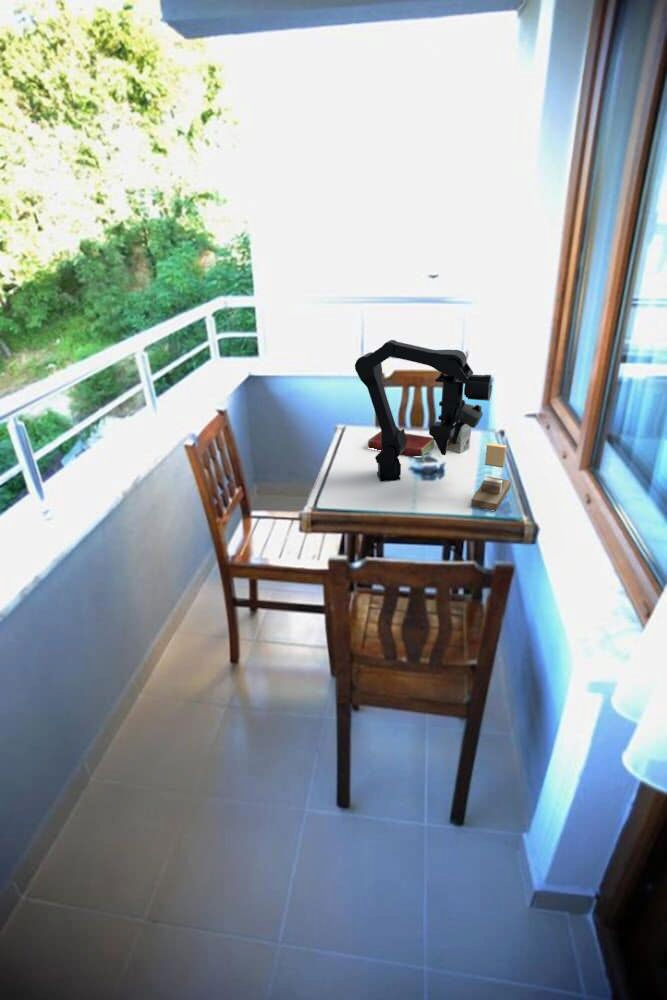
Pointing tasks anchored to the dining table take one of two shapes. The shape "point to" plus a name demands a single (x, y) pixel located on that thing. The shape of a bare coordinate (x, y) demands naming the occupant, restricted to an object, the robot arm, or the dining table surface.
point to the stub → (495, 455)
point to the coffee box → (461, 438)
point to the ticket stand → (490, 493)
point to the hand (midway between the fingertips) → (449, 449)
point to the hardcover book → (414, 444)
